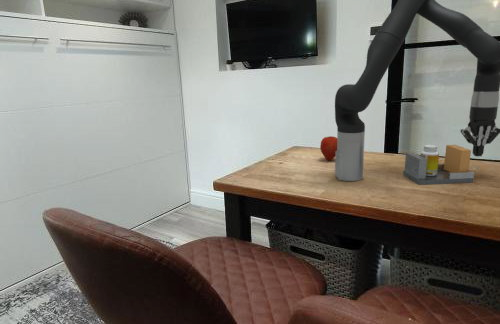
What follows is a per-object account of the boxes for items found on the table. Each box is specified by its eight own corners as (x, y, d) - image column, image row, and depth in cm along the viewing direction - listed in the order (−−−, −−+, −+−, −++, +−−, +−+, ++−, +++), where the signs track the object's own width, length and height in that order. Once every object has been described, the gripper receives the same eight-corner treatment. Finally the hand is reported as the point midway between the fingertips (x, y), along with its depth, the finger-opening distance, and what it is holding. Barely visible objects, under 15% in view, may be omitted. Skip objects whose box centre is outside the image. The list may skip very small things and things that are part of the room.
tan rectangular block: (458, 176, 113) (461, 150, 111) (443, 169, 122) (446, 145, 120) (467, 176, 113) (471, 150, 111) (452, 169, 122) (454, 144, 120)
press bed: (419, 184, 112) (421, 160, 110) (402, 174, 124) (404, 151, 122) (473, 182, 112) (476, 157, 110) (451, 172, 124) (454, 149, 122)
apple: (337, 163, 143) (338, 138, 140) (317, 162, 146) (317, 137, 143) (341, 158, 150) (342, 134, 147) (322, 157, 154) (322, 134, 151)
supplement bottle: (440, 174, 117) (443, 145, 114) (431, 177, 114) (434, 148, 111) (424, 171, 121) (427, 143, 119) (415, 174, 118) (418, 145, 116)
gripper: (471, 107, 108) (465, 159, 112) (512, 105, 108) (504, 157, 112) (457, 105, 115) (451, 154, 120) (495, 103, 115) (489, 152, 120)
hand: (477, 155), depth 116 cm, fingers closed
